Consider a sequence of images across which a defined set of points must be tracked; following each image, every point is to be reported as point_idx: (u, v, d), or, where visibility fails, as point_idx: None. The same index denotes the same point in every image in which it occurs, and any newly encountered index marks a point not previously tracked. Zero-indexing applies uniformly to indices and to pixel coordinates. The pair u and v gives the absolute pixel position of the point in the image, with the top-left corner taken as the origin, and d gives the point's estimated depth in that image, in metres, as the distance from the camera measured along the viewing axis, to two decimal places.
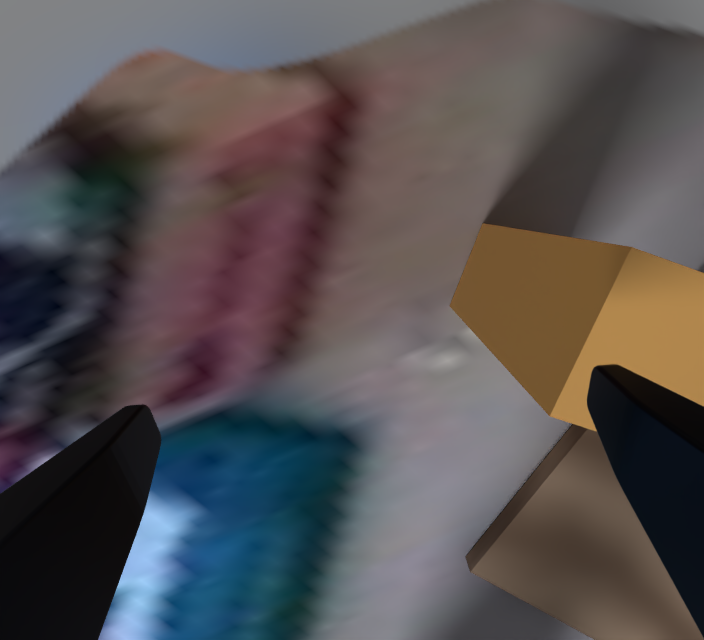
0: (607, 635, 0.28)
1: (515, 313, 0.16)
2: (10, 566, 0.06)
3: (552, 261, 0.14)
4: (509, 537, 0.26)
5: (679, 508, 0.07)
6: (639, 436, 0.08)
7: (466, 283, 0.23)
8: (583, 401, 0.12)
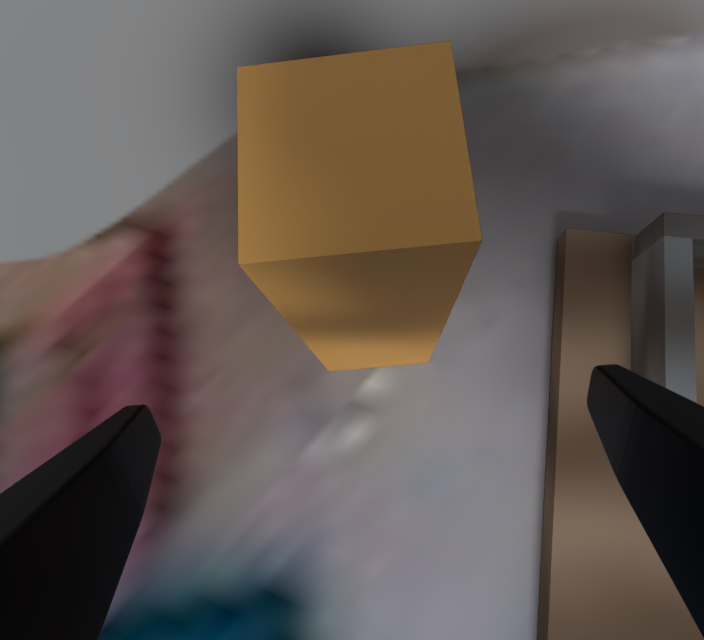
0: None
1: None
2: (10, 566, 0.06)
3: None
4: None
5: (679, 508, 0.07)
6: (639, 436, 0.08)
7: None
8: (270, 229, 0.09)
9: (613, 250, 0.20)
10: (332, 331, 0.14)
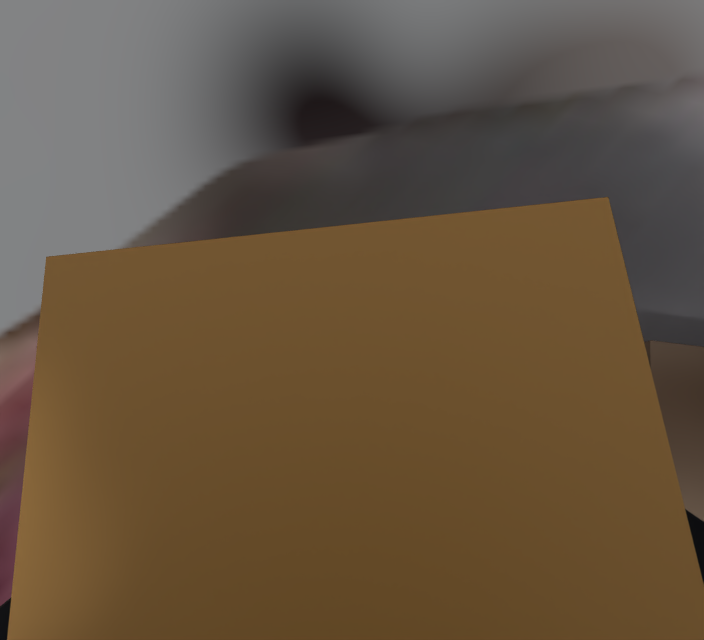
0: None
1: None
2: None
3: None
4: None
5: None
6: None
7: None
8: None
9: None
10: None
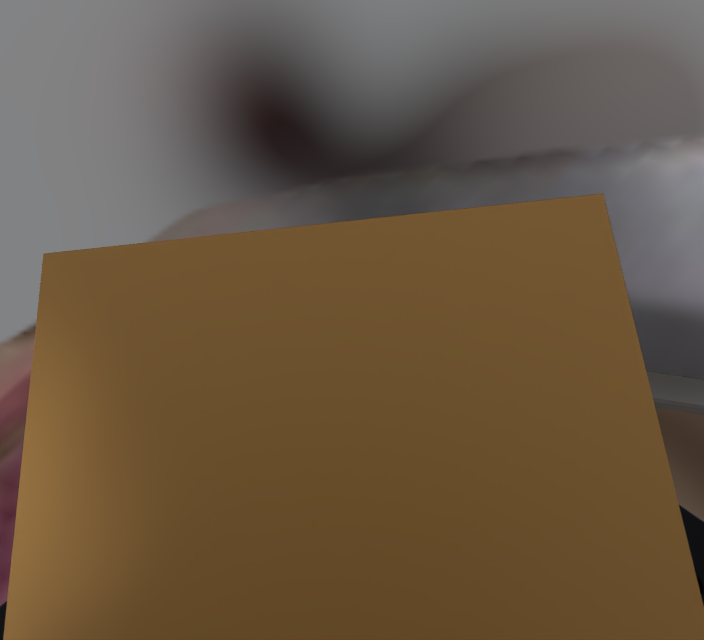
0: None
1: None
2: None
3: None
4: None
5: None
6: None
7: None
8: None
9: None
10: None
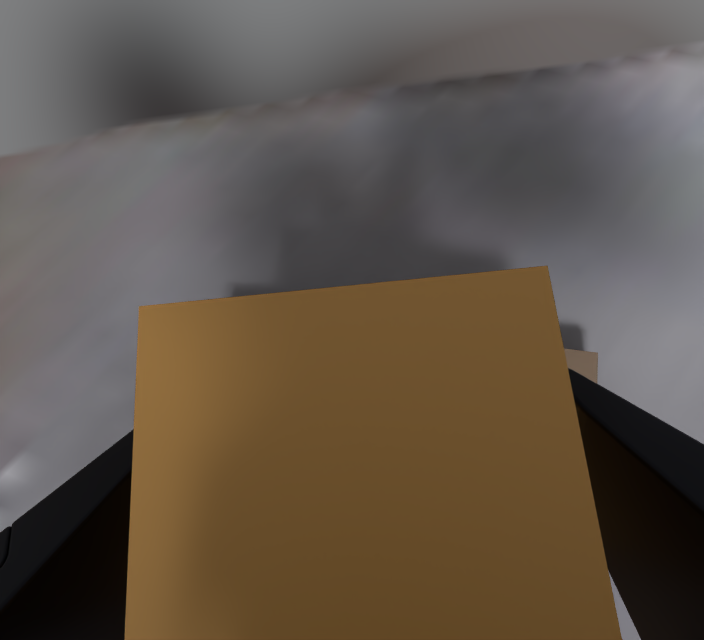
0: None
1: None
2: (74, 562, 0.06)
3: None
4: None
5: (618, 512, 0.07)
6: (584, 440, 0.08)
7: None
8: None
9: None
10: None
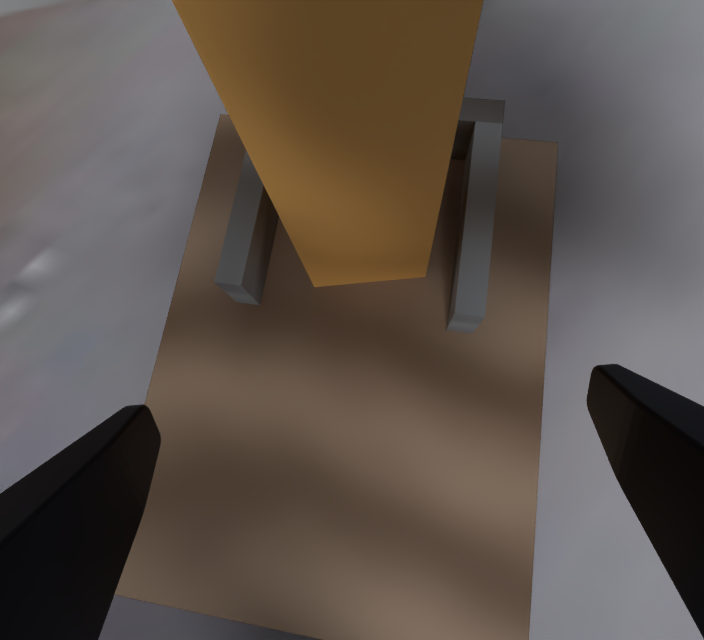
0: (364, 626, 0.16)
1: None
2: (10, 566, 0.06)
3: None
4: None
5: (679, 508, 0.07)
6: (639, 436, 0.08)
7: None
8: None
9: None
10: (310, 190, 0.12)
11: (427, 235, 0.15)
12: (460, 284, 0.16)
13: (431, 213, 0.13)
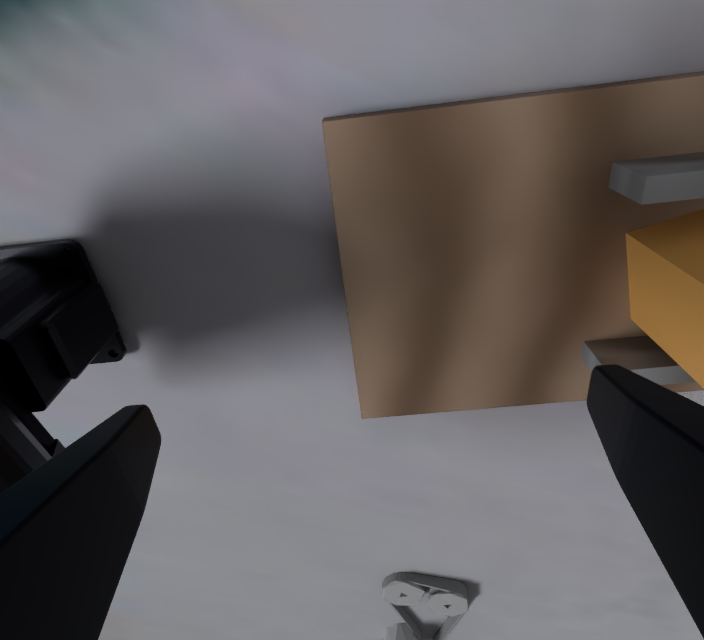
0: (364, 334, 0.22)
1: None
2: (10, 566, 0.06)
3: None
4: (403, 126, 0.18)
5: (679, 508, 0.07)
6: (639, 436, 0.08)
7: (682, 232, 0.18)
8: None
9: None
10: None
11: (681, 363, 0.19)
12: None
13: None
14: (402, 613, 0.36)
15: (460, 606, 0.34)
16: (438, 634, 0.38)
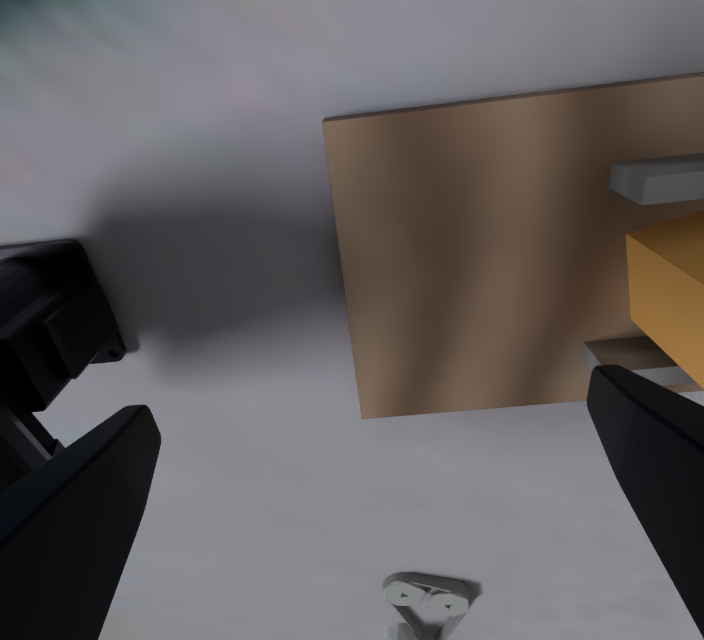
0: (364, 334, 0.22)
1: None
2: (10, 566, 0.06)
3: None
4: (403, 127, 0.18)
5: (679, 508, 0.07)
6: (639, 436, 0.08)
7: (682, 233, 0.18)
8: None
9: None
10: None
11: (681, 364, 0.19)
12: None
13: None
14: (403, 613, 0.36)
15: (461, 606, 0.34)
16: (439, 634, 0.38)
